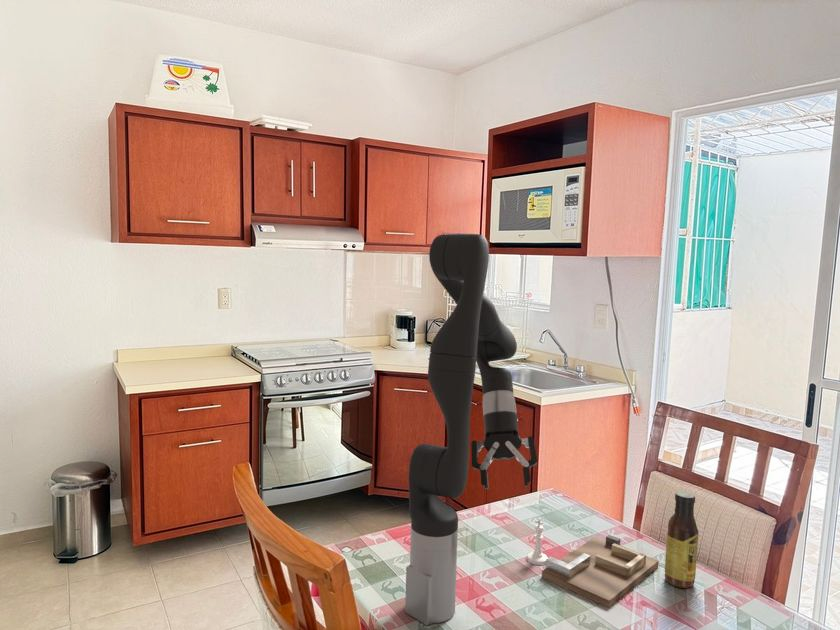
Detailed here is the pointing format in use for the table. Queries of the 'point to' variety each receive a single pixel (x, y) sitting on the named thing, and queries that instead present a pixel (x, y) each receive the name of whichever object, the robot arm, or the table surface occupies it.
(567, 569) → the keeper bolt
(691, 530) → the sauce bottle
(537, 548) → the chess piece
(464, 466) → the robot arm
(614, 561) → the socket board
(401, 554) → the table surface
